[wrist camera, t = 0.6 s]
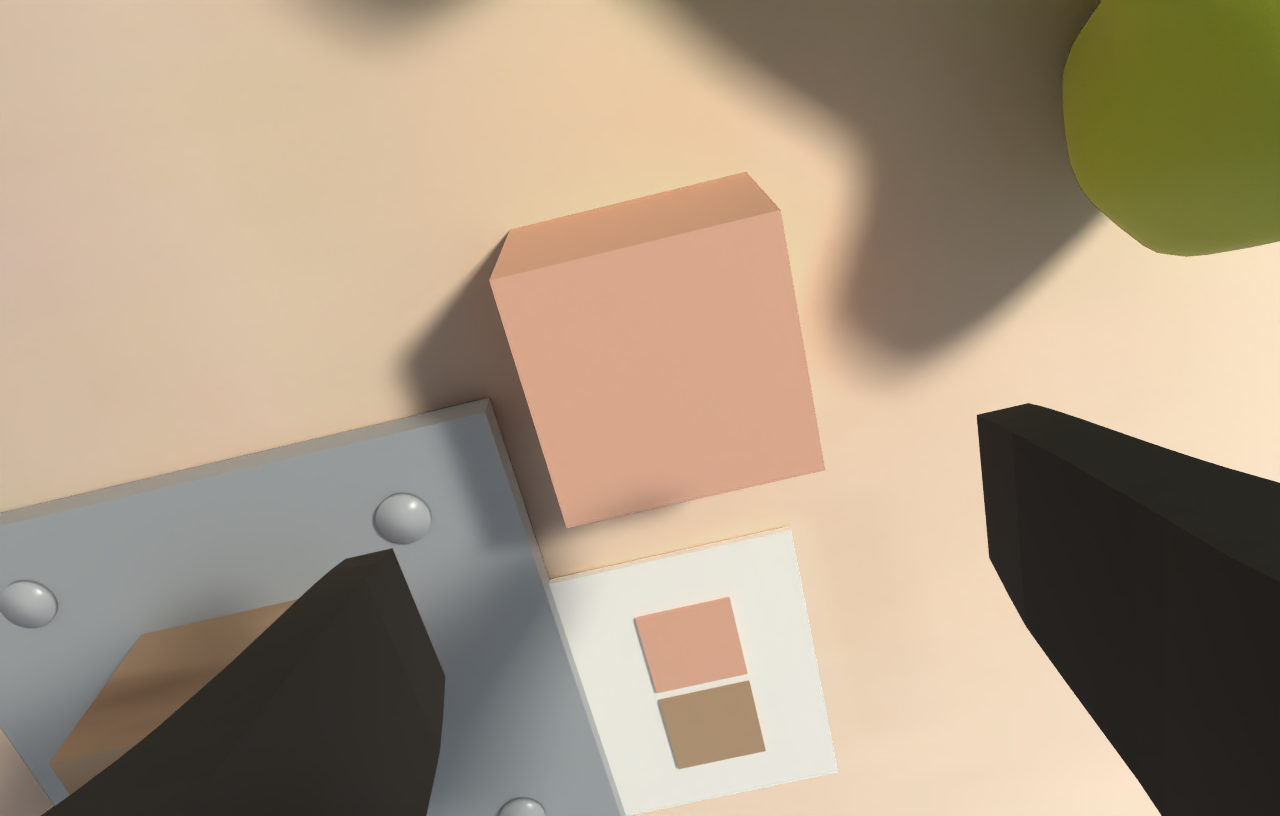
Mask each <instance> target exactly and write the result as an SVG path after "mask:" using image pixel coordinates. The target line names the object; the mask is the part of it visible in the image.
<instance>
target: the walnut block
mask: <svg viewBox="0 0 1280 816" xmlns="http://www.w3.org/2000/svg"><path fill="white" fill-rule="evenodd" d="M297 600H298V599H296V600H292V601H288V602H283V603H279V604H274V605H270V606H265V607H261V608H257V609H252V610H248V611H243V612H239V613H234V614H230V615H226V616H221V617H217V618H212V619H208V620H203V621H199V622H194V623H190V624H186V625H181V626H177V627H172V628H168V629H163V630H159V631H155V632H150V633H146V634H142V635H141V636H140V637H139V639H138V640H137V642H136V643H135V644H134V646H133V647H132V649H131V650H130V651H129V653H128V654H127V655H126V657H125V658H124V660H123V661H122V662H121V664H120V665H119V666H118V668H117V669H116V671H115V672H114V673H113V675H112V676H111V678H110V679H109V680H108V682H107V683H106V684H105V686H104V687H103V689H102V690H101V691H100V693H99V694H98V695H97V697H96V698H95V700H94V701H93V702H92V704H91V705H90V706H89V708H88V709H87V711H86V712H85V713H84V715H83V716H82V718H81V719H80V720H79V722H78V723H77V724H76V726H75V727H74V729H73V730H72V731H71V733H70V734H69V735H68V737H67V738H66V740H65V741H64V742H63V744H62V745H61V746H60V748H59V749H58V751H57V752H56V753H55V755H54V756H53V758H52V759H51V760H50V762H49V763H48V764H49V765H50V767H51V768H52V770H53V771H54V772H55V774H56V775H57V777H58V778H59V780H60V781H61V783H62V784H63V786H64V787H65V789H66V790H67V792H68V793H69V795H71V794H72V793H74V792H75V791H76V790H78V789H79V788H80V787H81V786H83V785H84V784H85V783H87V782H88V781H89V780H91V779H92V778H93V777H95V776H96V775H97V774H99V773H100V772H101V771H103V770H104V769H105V768H107V767H108V766H109V765H111V764H112V763H113V762H115V761H116V760H117V759H119V758H120V757H121V756H122V755H124V754H125V753H126V752H127V751H129V750H130V749H131V748H132V747H134V746H135V745H136V744H137V743H139V742H140V741H141V740H142V739H144V738H145V737H146V736H147V735H148V734H150V733H151V732H152V731H153V730H154V729H156V728H157V727H158V726H159V725H160V724H162V723H163V722H164V721H165V720H166V719H167V718H168V717H170V716H171V715H172V714H173V713H174V712H175V711H176V710H178V709H179V708H180V707H181V706H182V705H183V704H184V703H186V702H187V701H188V700H189V699H190V698H191V697H192V696H193V695H195V694H196V693H197V692H198V691H199V690H200V689H201V688H203V687H204V686H205V685H206V684H207V683H208V682H209V681H211V680H212V679H213V678H214V677H215V676H216V675H217V674H219V673H220V672H221V671H222V670H223V669H224V668H225V667H226V666H228V665H229V664H230V663H231V662H232V661H233V660H234V659H235V658H236V657H237V656H238V655H239V654H240V653H241V652H243V651H244V650H245V649H246V648H247V647H248V646H249V645H250V644H251V643H252V642H253V641H254V640H255V639H256V638H257V637H258V636H260V635H261V634H262V633H263V632H264V631H265V630H266V629H267V628H268V627H269V626H270V625H271V624H272V623H273V622H274V621H275V620H277V619H278V618H279V617H280V616H281V615H282V614H283V613H284V612H285V611H286V610H287V609H288V608H289V607H290V606H291V605H292V604H293V603H294V602H296V601H297Z"/></svg>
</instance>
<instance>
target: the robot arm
mask: <svg viewBox="0 0 1280 816" xmlns="http://www.w3.org/2000/svg"><path fill="white" fill-rule="evenodd" d="M977 424H978V435H979V446H980V458H981V469H982V480H983V491H984V503H985V514H986V525H987V536H988V548H989V558H990V560H991V562H992V564H993V566H994V568H995V570H996V571H997V573H998V575H999V577H1000V579H1001V581H1002V583H1003V585H1004V587H1005V589H1006V591H1007V593H1008V595H1009V597H1010V598H1011V600H1012V602H1013V604H1014V606H1015V607H1016V609H1017V611H1018V613H1019V615H1020V616H1021V618H1022V620H1023V622H1024V624H1025V625H1026V627H1027V628H1028V630H1029V631H1030V633H1031V634H1032V635H1033V637H1034V638H1035V640H1036V641H1037V643H1038V644H1039V645H1040V647H1041V648H1042V650H1043V651H1044V652H1045V654H1046V655H1047V656H1048V658H1049V659H1050V661H1051V662H1052V663H1053V665H1054V666H1055V668H1056V669H1057V670H1058V672H1059V673H1060V674H1061V676H1062V677H1063V679H1064V680H1065V681H1066V683H1067V684H1068V685H1069V687H1070V688H1071V690H1072V691H1073V692H1074V694H1075V695H1076V696H1077V698H1078V699H1079V700H1080V702H1081V703H1082V705H1083V706H1084V707H1085V709H1086V710H1087V711H1088V713H1089V714H1090V715H1091V717H1092V718H1093V719H1094V721H1095V722H1096V724H1097V725H1098V726H1099V728H1100V729H1101V730H1102V732H1103V733H1104V734H1105V736H1106V737H1107V739H1108V740H1109V741H1110V743H1111V744H1112V745H1113V747H1114V748H1115V749H1116V751H1117V752H1118V754H1119V755H1120V756H1121V758H1122V759H1123V760H1124V762H1125V763H1126V764H1127V766H1128V767H1129V769H1130V770H1131V771H1132V773H1133V774H1134V775H1135V777H1136V778H1137V779H1138V781H1139V782H1140V784H1141V785H1142V787H1143V788H1144V790H1145V791H1146V793H1147V794H1148V796H1149V797H1150V799H1151V800H1152V802H1153V803H1154V805H1155V806H1156V808H1157V809H1158V811H1159V812H1160V814H1161V815H1162V816H1280V483H1278V482H1275V481H1271V480H1268V479H1264V478H1261V477H1257V476H1254V475H1250V474H1247V473H1243V472H1240V471H1236V470H1233V469H1229V468H1226V467H1222V466H1219V465H1216V464H1213V463H1210V462H1206V461H1203V460H1200V459H1197V458H1194V457H1191V456H1188V455H1184V454H1181V453H1178V452H1175V451H1172V450H1169V449H1166V448H1163V447H1160V446H1157V445H1154V444H1152V443H1149V442H1146V441H1143V440H1140V439H1137V438H1134V437H1131V436H1128V435H1125V434H1123V433H1120V432H1117V431H1114V430H1111V429H1108V428H1105V427H1103V426H1100V425H1097V424H1094V423H1091V422H1088V421H1085V420H1083V419H1080V418H1077V417H1074V416H1071V415H1068V414H1065V413H1062V412H1059V411H1055V410H1052V409H1049V408H1045V407H1042V406H1038V405H1033V404H1029V403H1028V404H1023V405H1019V406H1014V407H1010V408H1006V409H1001V410H997V411H992V412H988V413H984V414H979V415H977ZM445 678H446V677H445V674H444V672H443V669H442V667H441V665H440V662H439V660H438V657H437V655H436V652H435V650H434V648H433V645H432V643H431V640H430V638H429V635H428V633H427V631H426V628H425V626H424V623H423V621H422V618H421V616H420V614H419V611H418V609H417V606H416V604H415V601H414V599H413V597H412V594H411V592H410V589H409V587H408V584H407V582H406V580H405V577H404V575H403V572H402V570H401V567H400V565H399V563H398V560H397V558H396V555H395V553H394V550H393V548H391V549H386V550H382V551H378V552H373V553H369V554H364V555H360V556H356V557H351V558H347V559H344V560H343V561H342V562H340V563H339V564H338V565H336V566H335V567H334V568H332V569H331V570H330V571H329V572H328V573H326V574H325V575H324V576H323V577H322V578H321V579H320V580H318V581H317V582H316V583H315V584H314V585H313V586H312V587H311V588H310V589H308V590H307V591H306V592H305V593H304V594H303V595H302V596H301V597H300V598H299V599H298V600H297V601H296V602H294V603H293V604H292V605H291V606H290V607H289V608H288V609H287V610H286V611H285V612H284V613H283V614H282V615H281V616H280V617H279V618H278V619H277V620H275V621H274V622H273V623H272V624H271V625H270V626H269V627H268V628H267V629H266V630H265V631H264V632H263V633H262V634H261V635H260V636H258V637H257V638H256V639H255V640H254V641H253V642H252V643H251V644H250V645H249V646H248V647H247V648H246V649H245V650H244V651H243V652H241V653H240V654H239V655H238V656H237V657H236V658H235V659H234V660H233V661H232V662H231V663H230V664H229V665H228V666H226V667H225V668H224V669H223V670H222V671H221V672H220V673H219V674H217V675H216V676H215V677H214V678H213V679H212V680H211V681H209V682H208V683H207V684H206V685H205V686H204V687H203V688H201V689H200V690H199V691H198V692H197V693H196V694H195V695H193V696H192V697H191V698H190V699H189V700H188V701H187V702H186V703H184V704H183V705H182V706H181V707H180V708H179V709H178V710H176V711H175V712H174V713H173V714H172V715H171V716H170V717H168V718H167V719H166V720H165V721H164V722H163V723H162V724H160V725H159V726H158V727H157V728H156V729H154V730H153V731H152V732H151V733H150V734H148V735H147V736H146V737H145V738H144V739H142V740H141V741H140V742H139V743H137V744H136V745H135V746H134V747H132V748H131V749H130V750H129V751H127V752H126V753H125V754H124V755H122V756H121V757H120V758H119V759H117V760H116V761H115V762H113V763H112V764H111V765H109V766H108V767H107V768H105V769H104V770H103V771H101V772H100V773H99V774H97V775H96V776H95V777H93V778H92V779H91V780H89V781H88V782H87V783H85V784H84V785H83V786H81V787H80V788H79V789H78V790H76V791H75V792H74V793H72V794H71V795H69V796H68V797H67V798H65V799H64V800H63V801H61V802H60V803H58V804H57V805H56V806H54V807H53V808H51V809H50V810H49V811H47V812H46V813H44V814H43V815H41V816H426V815H427V811H428V806H429V801H430V797H431V792H432V788H433V783H434V778H435V774H436V769H437V764H438V759H439V754H440V746H441V735H442V724H443V711H444V694H445Z"/></svg>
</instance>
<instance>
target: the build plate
mask: <svg viewBox="0 0 1280 816" xmlns="http://www.w3.org/2000/svg"><path fill="white" fill-rule="evenodd" d="M391 548H393V550H394V553H395V555H396V558H397V560H398V563H399V565H400V567H401V570H402V572H403V575H404V577H405V580H406V582H407V584H408V587H409V589H410V592H411V594H412V597H413V599H414V601H415V604H416V606H417V609H418V611H419V614H420V616H421V618H422V621H423V623H424V626H425V628H426V631H427V633H428V635H429V638H430V640H431V643H432V645H433V648H434V650H435V652H436V655H437V657H438V660H439V662H440V665H441V667H442V669H443V672H444V674H445V677H446V678H445V694H444V711H443V724H442V735H441V746H440V754H439V759H438V764H437V769H436V774H435V778H434V783H433V788H432V792H431V797H430V801H429V806H428V811H427V815H426V816H626V814H625V811H624V808H623V805H622V802H621V799H620V796H619V793H618V790H617V787H616V784H615V781H614V778H613V775H612V772H611V769H610V766H609V763H608V760H607V757H606V754H605V751H604V748H603V745H602V742H601V739H600V736H599V733H598V730H597V727H596V724H595V721H594V718H593V715H592V712H591V709H590V706H589V703H588V700H587V697H586V694H585V691H584V688H583V685H582V682H581V679H580V676H579V673H578V670H577V667H576V664H575V661H574V658H573V655H572V652H571V649H570V646H569V643H568V640H567V637H566V634H565V631H564V628H563V625H562V622H561V619H560V616H559V613H558V610H557V607H556V604H555V601H554V598H553V595H552V592H551V589H550V586H549V577H548V574H547V571H546V568H545V565H544V562H543V559H542V555H541V552H540V549H539V546H538V543H537V540H536V537H535V534H534V531H533V528H532V525H531V522H530V519H529V516H528V513H527V510H526V507H525V504H524V501H523V498H522V495H521V492H520V489H519V486H518V483H517V480H516V477H515V474H514V471H513V468H512V465H511V462H510V459H509V456H508V453H507V450H506V447H505V444H504V441H503V438H502V435H501V432H500V429H499V426H498V423H497V420H496V417H495V414H494V411H493V408H492V405H491V402H490V399H489V398H486V399H482V400H478V401H474V402H469V403H465V404H461V405H457V406H452V407H448V408H444V409H440V410H435V411H431V412H427V413H423V414H418V415H414V416H410V417H406V418H401V419H397V420H393V421H389V422H384V423H380V424H376V425H372V426H367V427H363V428H359V429H355V430H350V431H346V432H342V433H338V434H333V435H329V436H325V437H321V438H316V439H312V440H308V441H304V442H299V443H295V444H291V445H287V446H282V447H278V448H274V449H270V450H265V451H261V452H257V453H253V454H248V455H244V456H240V457H236V458H231V459H227V460H223V461H219V462H214V463H210V464H206V465H202V466H197V467H193V468H189V469H185V470H180V471H176V472H172V473H168V474H163V475H159V476H155V477H151V478H146V479H142V480H138V481H134V482H129V483H125V484H121V485H117V486H112V487H108V488H104V489H100V490H95V491H91V492H87V493H83V494H78V495H74V496H70V497H66V498H62V499H57V500H53V501H49V502H45V503H40V504H36V505H32V506H28V507H23V508H19V509H15V510H11V511H6V512H2V513H0V727H1V729H2V730H3V732H4V733H5V735H6V736H7V738H8V739H9V741H10V742H11V743H12V745H13V746H14V748H15V749H16V751H17V752H18V754H19V755H20V757H21V758H22V759H23V761H24V762H25V764H26V765H27V767H28V768H29V770H30V771H31V773H32V774H33V775H34V777H35V778H36V780H37V781H38V783H39V784H40V786H41V787H42V789H43V790H44V791H45V793H46V794H47V796H48V797H49V799H50V800H51V802H52V803H53V805H54V806H56V805H57V804H58V803H60V802H61V801H63V800H64V799H65V798H67V797H68V796H69V793H68V792H67V790H66V789H65V787H64V786H63V784H62V783H61V781H60V780H59V778H58V777H57V775H56V774H55V772H54V771H53V770H52V768H51V767H50V765H49V764H48V763H49V762H50V760H51V759H52V758H53V756H54V755H55V753H56V752H57V751H58V749H59V748H60V746H61V745H62V744H63V742H64V741H65V740H66V738H67V737H68V735H69V734H70V733H71V731H72V730H73V729H74V727H75V726H76V724H77V723H78V722H79V720H80V719H81V718H82V716H83V715H84V713H85V712H86V711H87V709H88V708H89V706H90V705H91V704H92V702H93V701H94V700H95V698H96V697H97V695H98V694H99V693H100V691H101V690H102V689H103V687H104V686H105V684H106V683H107V682H108V680H109V679H110V678H111V676H112V675H113V673H114V672H115V671H116V669H117V668H118V666H119V665H120V664H121V662H122V661H123V660H124V658H125V657H126V655H127V654H128V653H129V651H130V650H131V649H132V647H133V646H134V644H135V643H136V642H137V640H138V639H139V637H140V636H141V635H142V634H146V633H150V632H155V631H159V630H163V629H168V628H172V627H177V626H181V625H186V624H190V623H194V622H199V621H203V620H208V619H212V618H217V617H221V616H226V615H230V614H234V613H239V612H243V611H248V610H252V609H257V608H261V607H265V606H270V605H274V604H279V603H283V602H288V601H292V600H296V599H299V598H300V597H301V596H302V595H303V594H304V593H305V592H306V591H307V590H308V589H310V588H311V587H312V586H313V585H314V584H315V583H316V582H317V581H318V580H320V579H321V578H322V577H323V576H324V575H325V574H326V573H328V572H329V571H330V570H331V569H332V568H334V567H335V566H336V565H338V564H339V563H340V562H342V561H343V560H344V559H347V558H351V557H356V556H360V555H364V554H369V553H373V552H378V551H382V550H386V549H391Z"/></svg>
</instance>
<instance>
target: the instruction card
mask: <svg viewBox="0 0 1280 816" xmlns="http://www.w3.org/2000/svg"><path fill="white" fill-rule="evenodd" d="M549 586H550V589H551V592H552V595H553V598H554V601H555V604H556V607H557V610H558V613H559V616H560V619H561V622H562V625H563V628H564V631H565V634H566V637H567V640H568V643H569V646H570V649H571V652H572V655H573V658H574V661H575V664H576V667H577V670H578V673H579V676H580V679H581V682H582V685H583V688H584V691H585V694H586V697H587V700H588V703H589V706H590V709H591V712H592V715H593V718H594V721H595V724H596V727H597V730H598V733H599V736H600V739H601V742H602V745H603V748H604V751H605V754H606V757H607V760H608V763H609V766H610V769H611V772H612V775H613V778H614V781H615V784H616V787H617V790H618V793H619V796H620V799H621V802H622V805H623V808H624V811H625V814H626V816H630V815H635V814H640V813H644V812H649V811H654V810H659V809H664V808H668V807H673V806H678V805H683V804H688V803H693V802H697V801H702V800H707V799H712V798H717V797H721V796H726V795H731V794H736V793H741V792H745V791H750V790H755V789H760V788H765V787H770V786H774V785H779V784H784V783H789V782H794V781H798V780H803V779H808V778H813V777H818V776H822V775H827V774H832V773H837V772H838V769H837V763H836V758H835V753H834V748H833V743H832V738H831V733H830V727H829V722H828V717H827V712H826V707H825V702H824V696H823V691H822V686H821V681H820V676H819V671H818V666H817V660H816V655H815V650H814V645H813V640H812V635H811V630H810V624H809V619H808V614H807V609H806V604H805V599H804V593H803V588H802V583H801V578H800V573H799V568H798V563H797V557H796V552H795V547H794V542H793V537H792V532H791V528H790V526H787V527H782V528H778V529H773V530H769V531H764V532H760V533H755V534H751V535H746V536H742V537H737V538H733V539H728V540H724V541H719V542H715V543H710V544H706V545H702V546H697V547H693V548H688V549H684V550H679V551H675V552H670V553H666V554H661V555H657V556H652V557H648V558H643V559H639V560H634V561H630V562H625V563H621V564H616V565H612V566H607V567H603V568H599V569H594V570H590V571H585V572H581V573H576V574H572V575H567V576H563V577H558V578H554V579H549Z"/></svg>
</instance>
